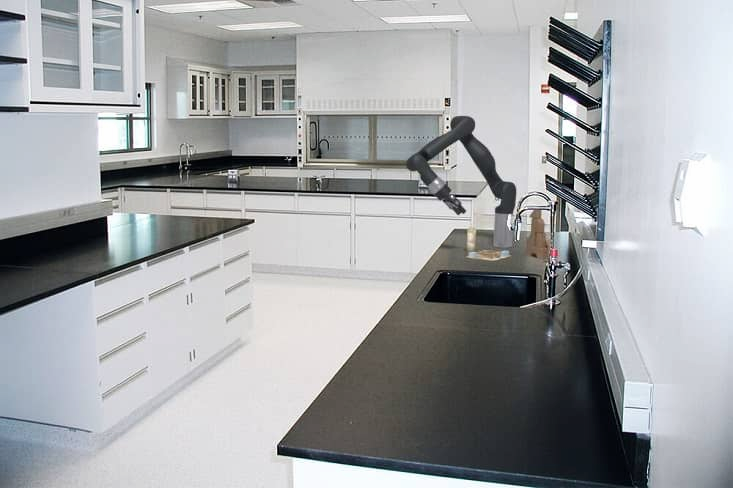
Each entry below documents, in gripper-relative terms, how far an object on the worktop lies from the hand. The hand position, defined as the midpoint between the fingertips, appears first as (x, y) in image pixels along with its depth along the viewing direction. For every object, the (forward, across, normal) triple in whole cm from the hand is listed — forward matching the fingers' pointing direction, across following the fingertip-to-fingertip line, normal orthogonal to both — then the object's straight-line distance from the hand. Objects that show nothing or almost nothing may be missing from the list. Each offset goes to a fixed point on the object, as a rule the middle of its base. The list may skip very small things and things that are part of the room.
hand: (462, 213), depth 334 cm
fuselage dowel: (+17, +2, +10) cm, 20 cm away
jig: (+23, -7, +7) cm, 25 cm away
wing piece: (+27, -7, +1) cm, 28 cm away
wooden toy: (+39, -9, -9) cm, 41 cm away
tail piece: (+17, -8, +12) cm, 22 cm away
